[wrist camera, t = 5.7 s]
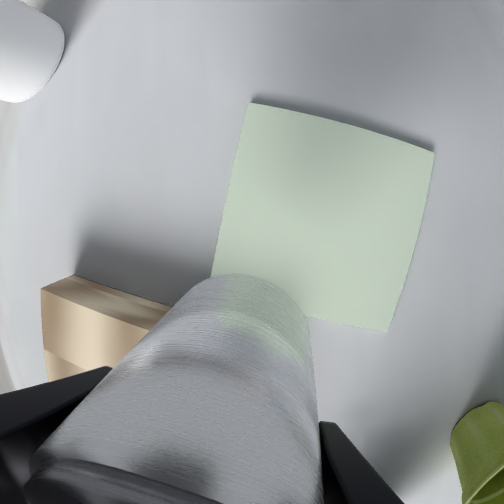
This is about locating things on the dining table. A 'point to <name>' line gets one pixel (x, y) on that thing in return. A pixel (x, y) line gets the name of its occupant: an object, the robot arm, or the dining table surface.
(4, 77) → the cup
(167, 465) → the grey metallic cylinder
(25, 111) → the dining table surface
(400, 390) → the dining table surface
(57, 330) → the housing
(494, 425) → the plant pot
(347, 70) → the dining table surface
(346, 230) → the mat
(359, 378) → the dining table surface
